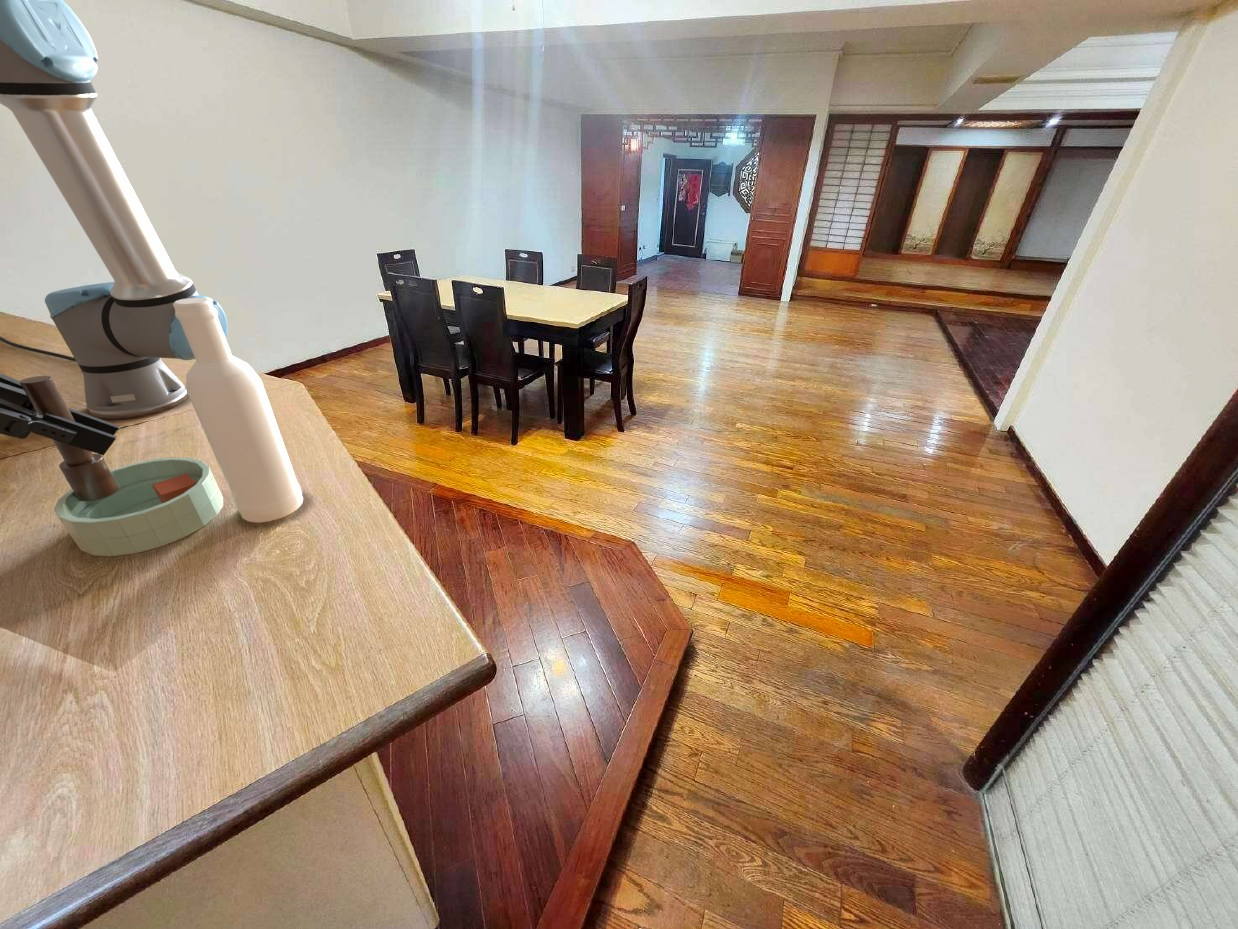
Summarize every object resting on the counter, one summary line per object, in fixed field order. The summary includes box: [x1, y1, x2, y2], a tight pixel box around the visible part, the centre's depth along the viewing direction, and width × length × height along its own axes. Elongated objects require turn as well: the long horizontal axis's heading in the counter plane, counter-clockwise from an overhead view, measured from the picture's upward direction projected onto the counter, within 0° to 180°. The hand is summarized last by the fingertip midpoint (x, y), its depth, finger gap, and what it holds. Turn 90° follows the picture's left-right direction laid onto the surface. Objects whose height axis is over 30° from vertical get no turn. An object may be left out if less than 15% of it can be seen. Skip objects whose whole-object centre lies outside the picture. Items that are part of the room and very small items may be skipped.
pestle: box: [19, 375, 119, 501], centre depth 62 cm, size 4×4×16 cm
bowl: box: [53, 456, 224, 557], centre depth 68 cm, size 16×16×6 cm
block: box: [152, 474, 197, 503], centre depth 70 cm, size 4×4×4 cm
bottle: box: [173, 298, 304, 523], centre depth 65 cm, size 8×8×30 cm
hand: (111, 440), depth 64 cm, fingers closed on pestle, 3 cm apart
